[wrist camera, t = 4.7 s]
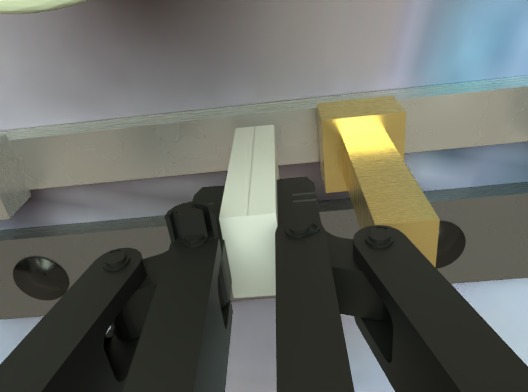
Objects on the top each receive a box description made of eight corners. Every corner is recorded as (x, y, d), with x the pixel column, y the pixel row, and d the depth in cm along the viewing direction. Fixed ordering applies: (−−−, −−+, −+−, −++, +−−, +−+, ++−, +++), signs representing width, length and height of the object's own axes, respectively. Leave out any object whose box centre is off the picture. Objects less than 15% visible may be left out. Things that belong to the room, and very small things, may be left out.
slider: (320, 170, 20) (349, 296, 13) (316, 103, 18) (346, 203, 11) (391, 164, 20) (459, 288, 13) (392, 95, 18) (471, 192, 11)
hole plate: (-4, 307, 26) (-15, 321, 25) (-43, 234, 24) (-55, 246, 23) (542, 263, 24) (553, 276, 23) (561, 179, 22) (574, 189, 21)
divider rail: (-45, 190, 22) (-228, 335, 14) (-74, 132, 21) (-296, 256, 13) (549, 131, 21) (736, 258, 12) (563, 64, 19) (785, 157, 11)
